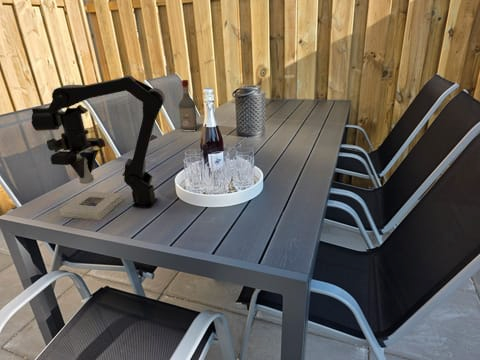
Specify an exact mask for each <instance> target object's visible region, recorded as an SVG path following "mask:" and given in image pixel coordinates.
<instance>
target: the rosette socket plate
mask: <svg viewBox="0 0 480 360" xmlns="http://www.w3.org/2000/svg"><path fill="white" fill-rule="evenodd" d="M123 201H124V197H123V193H120V192H119V193H117V192H116V193H115V192H106V191H104V192H103V191H91V190H86V191H85V192H83V193H82V194H80V195H78V196H77V197H76V198H74V199H73V200H71V201H70V202H68V203H67V204H66V205H63V207H61V208H60V209H59V214H60V217H61V218H62V217H63V218H72V219H83V220H84V219H85V220H94V221H101V220H102V219H103V218H104V217H106V216H107V215H108V214H109V213H110V212H111V211H113V209H115V208H116V207H117V206H118V205H119V204H121V203H122V202H123ZM91 204H95V206H94V205H91Z"/></svg>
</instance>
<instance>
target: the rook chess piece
mask: <svg viewBox="0 0 480 360" xmlns="http://www.w3.org/2000/svg"><path fill="white" fill-rule="evenodd" d="M80 158H83V157H81V156H80ZM87 161H88V160H87V159H86V158H85V157H84V178H80V177H79V176H78V177H79V178H78V179H79V183H80V184H82V185H83V184H84V185H85V184H86V185H87V184H91V183H93V182H94V180H95V178H94V175H93V174H92V172H91V173H90V171H89V169H88V164H87Z"/></svg>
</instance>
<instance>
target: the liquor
mask: <svg viewBox="0 0 480 360" xmlns="http://www.w3.org/2000/svg"><path fill="white" fill-rule="evenodd" d="M181 85H182V93H183V94H182V98H181V100H180V101H179V103H178V111H179V123H180V130H181V129H183V130H194V129H196V128H198V124H197V112H196V111H197V110H196V102H195V101H194V99H192V98H191V96H190V91H189V87H190V86H189V80H188V79H182V80H181ZM196 130H197V129H196Z"/></svg>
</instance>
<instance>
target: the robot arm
mask: <svg viewBox="0 0 480 360" xmlns="http://www.w3.org/2000/svg"><path fill="white" fill-rule="evenodd" d="M121 92H128V93H129V94H131V95H132V96H133V97H135V99H137V100H139V101H140V102H142V120H141V124H140V128H139V132H138V137H137V141H136V145H135V148H134V152H133V157H132V158H128V159H126V163H125V164H124V171H123V173H122V177H123V182H124V183H125V184H126V185H127V186H129V187H130V189H131V190H132V191H131V195H132V202H133V203H132V207H135V208H147V209H149V208H151V207H152V206H153V205H154V204H155V203H156V202H157V201H158V198H157V197H156V195H155V189H154V185H152V184H151V183H152V182H153V181H152V180H153V175H151V174H150V173H149V172H147V171H146V164H147V163H146V158H147V153H148V149H149V145H150V141H151V139H152V134H153V131H154V127H155V123H156V119H157V117H158V115H159V113H160V111H161V109H162V107H163V105H164V102H165V100H166V99H165V97H166V96H165V94H164V92H163V91H162V90H161V89H159V88H157V87H154V88H153V87H151V86H149V85H148V84H146V83H144V82H142V81H140V80H138V79H136V78H135V77H133V76H132V75H126V76H123V77H119V78H118V77H117V78H114V79H109V80H105V81H104V80H103V81H100V82H95V83H90V84H66V85H63V86H59V87H56V88H55V89H54V90H53V91H52V93H51V98H52V100H51V102H50V104H49V106H48V107H34V108H32V109H31V111H32V114H31V125H32V127H33V129H34V130H35V131H37V132H41V131H42V132H43V131H44V132H45V131H58V130H59V129H60V127H61V126H62V128H63V132H61V135H60V136H61V138H60V139H59V138H58V139H55V138H54V137H53V138H51V139H48V140H46V146H47V149H48V150H49V151H54V152H55V153H54V154H51V156H50V157H49V158H50V162H51V165H58V166H69V165H70V167H71V168H72V169H73V170H74V172H76V174H77V176H78V177H80V178H84V157H85V158H86V159H87V160H88V161H87V164H88V169H89V171H90V173H91V174H92V172H93V168H94V163H95V161H96V158H97V156H98V153H99V151H100V150H99V149H102V148H105V147H106V142H105V139H103V138H102V137H88V138H87V134H89V133H90V132H89V129H85V126H84V121H83V117H82V115H83V114H86V113H87V112H88V111H89V109H88V108H86V107H84V106H82V104H79V103H82V102H84V101H85V100H86V101H87V100H89V99H93V98H97V97H102V96H106V95H107V96H108V95H112V94H117V93H121ZM76 104H78V105H77V106H76V107H72V106H75V105H76ZM63 109H65V110H64V111H62V110H63ZM95 147H97V148H99V149H95ZM61 150H63V151H61ZM81 157H83V158H81Z"/></svg>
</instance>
